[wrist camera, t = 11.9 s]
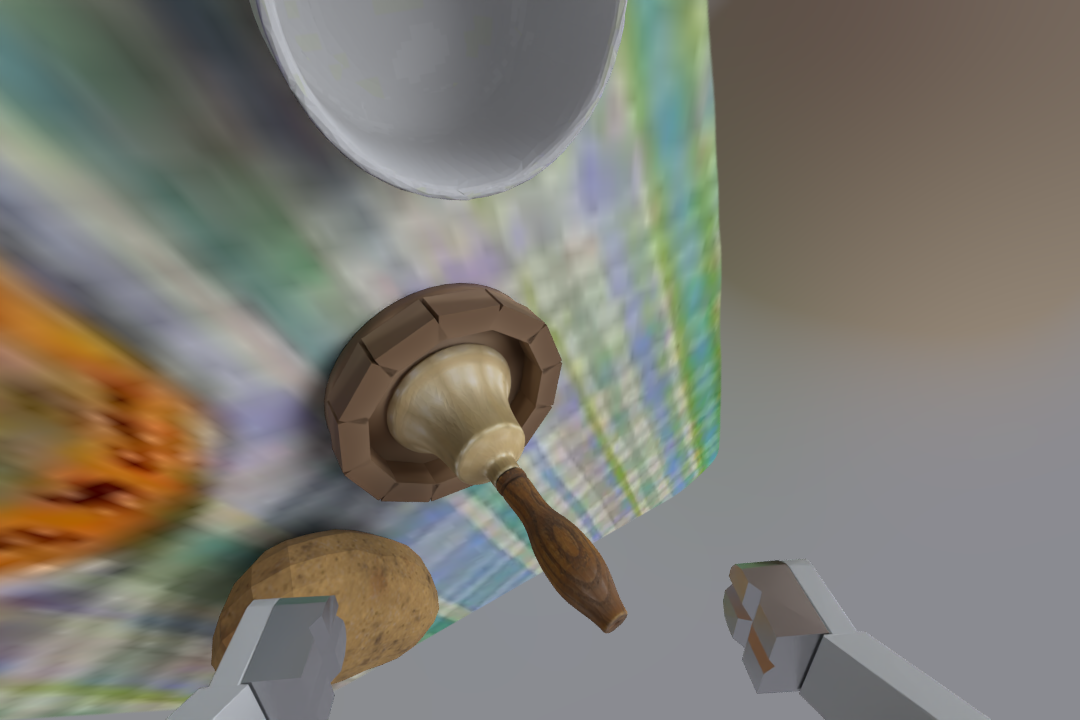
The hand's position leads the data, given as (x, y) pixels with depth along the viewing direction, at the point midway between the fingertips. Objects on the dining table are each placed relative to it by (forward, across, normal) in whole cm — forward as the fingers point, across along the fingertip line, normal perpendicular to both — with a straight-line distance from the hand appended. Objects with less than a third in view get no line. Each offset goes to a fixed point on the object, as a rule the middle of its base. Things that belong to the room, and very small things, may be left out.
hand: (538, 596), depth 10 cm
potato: (+18, -14, -18) cm, 29 cm away
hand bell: (+20, -4, -8) cm, 22 cm away
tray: (+21, -5, -7) cm, 22 cm away
